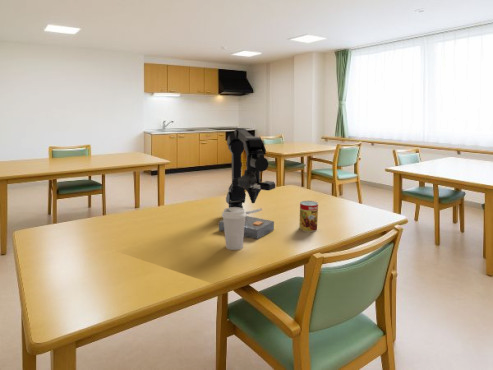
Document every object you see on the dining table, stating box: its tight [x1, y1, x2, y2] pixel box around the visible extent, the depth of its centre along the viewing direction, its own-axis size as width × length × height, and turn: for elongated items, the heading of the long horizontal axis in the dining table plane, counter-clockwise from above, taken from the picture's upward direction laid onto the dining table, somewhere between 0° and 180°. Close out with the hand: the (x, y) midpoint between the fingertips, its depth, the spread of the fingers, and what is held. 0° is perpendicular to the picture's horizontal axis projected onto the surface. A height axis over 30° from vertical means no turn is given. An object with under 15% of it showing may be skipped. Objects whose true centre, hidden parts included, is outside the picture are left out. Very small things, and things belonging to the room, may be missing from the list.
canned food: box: [299, 200, 319, 232], centre depth 164 cm, size 8×8×12 cm
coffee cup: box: [221, 207, 248, 251], centre depth 142 cm, size 10×10×15 cm
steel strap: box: [245, 207, 263, 215], centre depth 162 cm, size 16×3×1 cm, turn 54°
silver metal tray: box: [218, 215, 275, 240], centre depth 162 cm, size 20×14×6 cm
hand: (253, 203), depth 158 cm, fingers closed
